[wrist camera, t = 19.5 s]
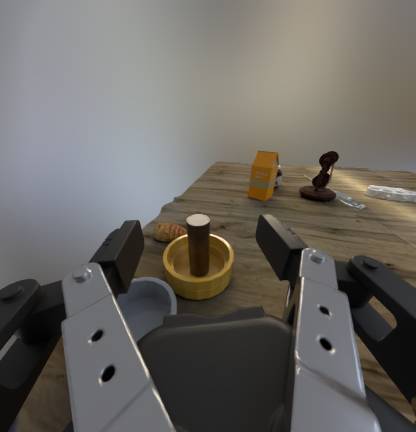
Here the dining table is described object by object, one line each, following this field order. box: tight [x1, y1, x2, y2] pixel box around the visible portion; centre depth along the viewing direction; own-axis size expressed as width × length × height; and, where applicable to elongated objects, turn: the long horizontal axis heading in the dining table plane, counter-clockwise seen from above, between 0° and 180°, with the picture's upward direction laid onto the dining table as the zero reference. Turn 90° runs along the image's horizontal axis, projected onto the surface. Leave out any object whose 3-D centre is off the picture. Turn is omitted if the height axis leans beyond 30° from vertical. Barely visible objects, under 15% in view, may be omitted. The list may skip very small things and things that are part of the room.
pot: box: [116, 277, 179, 343], centre depth 24 cm, size 13×13×5 cm
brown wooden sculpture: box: [299, 151, 339, 202], centre depth 71 cm, size 15×15×20 cm
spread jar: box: [274, 165, 282, 188], centre depth 87 cm, size 12×11×12 cm
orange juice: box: [248, 151, 279, 201], centre depth 70 cm, size 8×9×20 cm
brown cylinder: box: [186, 214, 210, 277], centre depth 32 cm, size 4×4×13 cm
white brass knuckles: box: [365, 185, 416, 202], centre depth 76 cm, size 3×18×15 cm
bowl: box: [163, 234, 234, 300], centre depth 35 cm, size 15×15×6 cm
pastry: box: [154, 222, 187, 242], centre depth 46 cm, size 9×7×4 cm
